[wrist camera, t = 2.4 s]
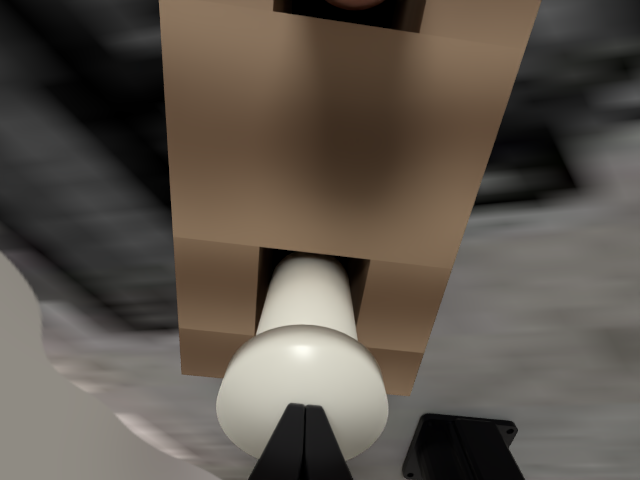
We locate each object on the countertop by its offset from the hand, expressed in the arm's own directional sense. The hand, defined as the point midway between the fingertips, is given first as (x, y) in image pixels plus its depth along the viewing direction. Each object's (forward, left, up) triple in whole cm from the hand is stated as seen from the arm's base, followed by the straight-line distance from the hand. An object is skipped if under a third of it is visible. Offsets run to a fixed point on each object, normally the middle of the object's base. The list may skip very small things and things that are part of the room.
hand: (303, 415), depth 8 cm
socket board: (+6, 0, -10) cm, 11 cm away
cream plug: (0, 0, -6) cm, 6 cm away
